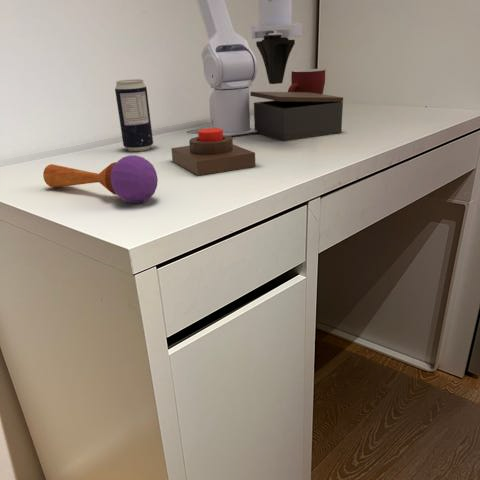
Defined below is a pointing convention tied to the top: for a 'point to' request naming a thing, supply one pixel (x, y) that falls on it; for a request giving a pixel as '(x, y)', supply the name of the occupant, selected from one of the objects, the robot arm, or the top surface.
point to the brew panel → (212, 156)
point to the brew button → (210, 134)
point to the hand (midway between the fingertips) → (275, 83)
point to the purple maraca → (111, 178)
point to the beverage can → (134, 114)
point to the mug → (308, 81)
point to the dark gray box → (297, 119)
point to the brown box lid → (297, 97)
